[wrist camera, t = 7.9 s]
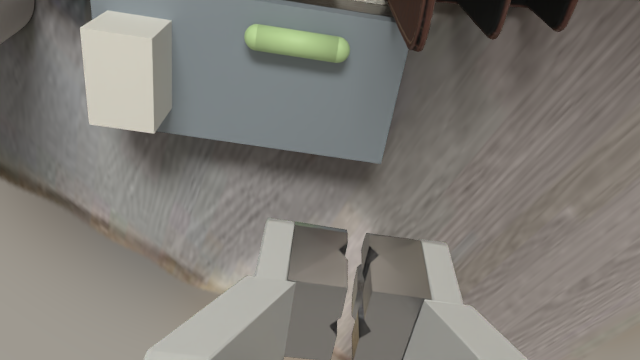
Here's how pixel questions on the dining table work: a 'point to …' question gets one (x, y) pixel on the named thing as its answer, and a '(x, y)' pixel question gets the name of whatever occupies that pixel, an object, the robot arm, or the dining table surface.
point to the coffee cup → (14, 16)
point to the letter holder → (474, 15)
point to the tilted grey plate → (245, 73)
